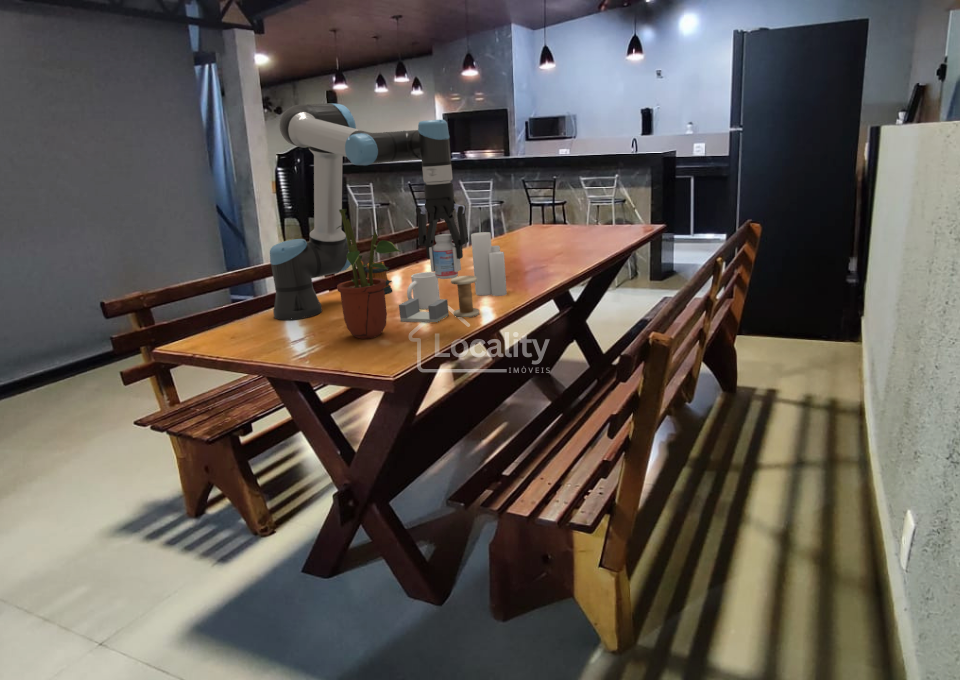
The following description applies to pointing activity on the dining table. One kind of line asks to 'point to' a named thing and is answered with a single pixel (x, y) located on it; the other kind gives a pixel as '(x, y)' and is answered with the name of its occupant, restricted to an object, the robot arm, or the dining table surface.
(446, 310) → the notch board
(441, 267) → the pill bottle
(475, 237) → the vase
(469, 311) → the wooden thread spool
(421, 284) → the mug
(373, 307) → the potted plant
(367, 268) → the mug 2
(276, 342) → the dining table surface
